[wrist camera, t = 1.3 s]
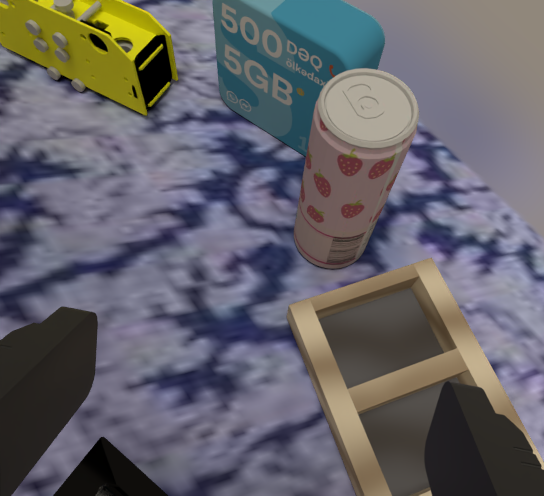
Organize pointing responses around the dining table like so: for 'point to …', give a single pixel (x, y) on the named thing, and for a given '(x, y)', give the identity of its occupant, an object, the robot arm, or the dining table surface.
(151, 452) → the dining table surface
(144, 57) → the yellow toy chassis
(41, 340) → the robot arm
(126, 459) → the black open box
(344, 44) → the data package
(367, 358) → the board
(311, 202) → the beverage can
